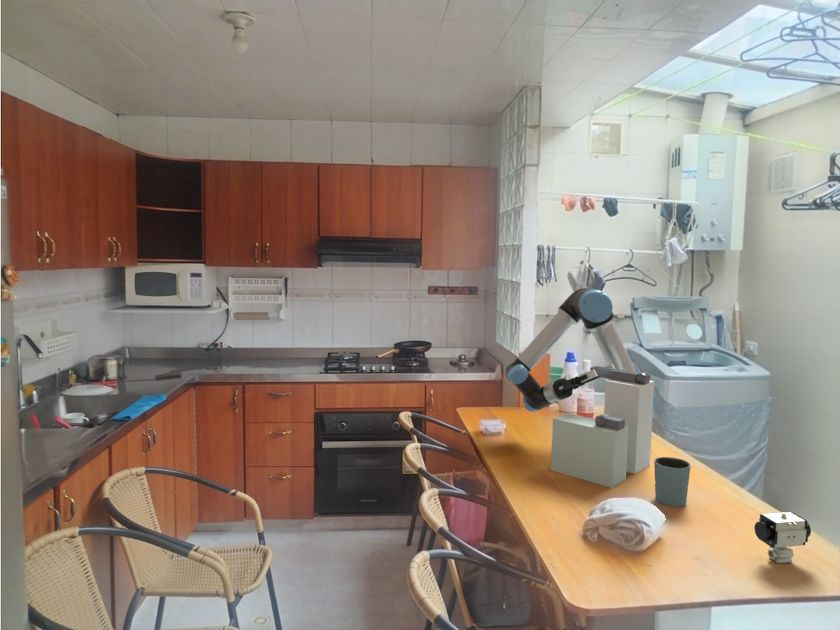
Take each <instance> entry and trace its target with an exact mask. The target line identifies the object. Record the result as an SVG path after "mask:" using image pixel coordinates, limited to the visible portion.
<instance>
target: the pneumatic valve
mask: <svg viewBox="0 0 840 630" xmlns="http://www.w3.org/2000/svg"><path fill="white" fill-rule="evenodd" d="M754 533H755V535H756V537H757V538H758V540H760V541H761V542H763V543H764V544H766V545H767V546H769V549H768V550H767V556H768V557H769V558H770V560H773V561H775V562H776V563H777V564H790V563H792V561H793V559H792V558H793V557H794V550H793V549H792V547H798V546H799V547H800V546H806V543H808V541H809V537H810V536H811V533H812V529H811V526H810V524H809V522H808V520H807V519H805V518H803V517H801V516H800V515H799V514H797V513H795V512H777V513H762V514H759V519H758V521H757V522H755V524H754Z"/></svg>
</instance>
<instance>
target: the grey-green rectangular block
mask: <svg viewBox="0 0 840 630" xmlns="http://www.w3.org/2000/svg"><path fill="white" fill-rule="evenodd" d="M628 427H629V426H625V419H623V418H618V417H613V416H611V415H609V414H604V413H602V414H601V413H600V414H598V415H596V416H595V418H593V417H588V416H584V415H579V414H574V413H570V412H566V413H564V414H562V415H558V416H555V417H553V418H552V432H551V433H552V434H551V436H552V437H551V459H550V461H551V462H550V465H551V466H550V470H551V471H553V472H557V473H561V474H563V475H566V476H570V477H573V478H577V479H579V480H584V481H587V482H591V483H593V484H597V485H600V486H603V487H607V488H611V489H613V488H614V487H616V486H618V485H620V484H621V483H623V482H624V481H626V480H627V472H626V468H627V447H628Z"/></svg>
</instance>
